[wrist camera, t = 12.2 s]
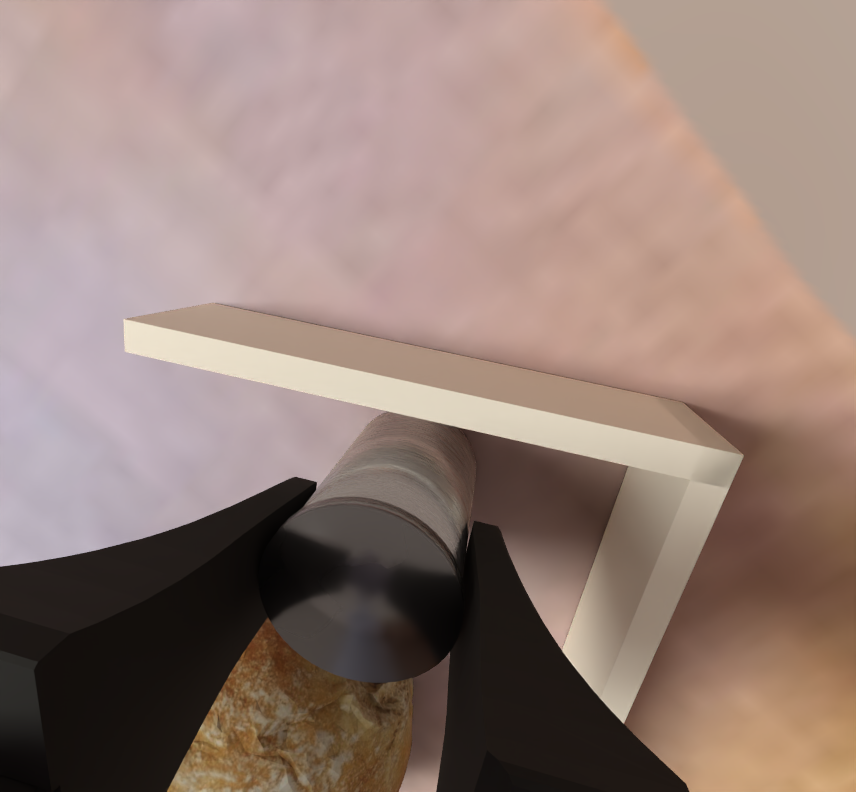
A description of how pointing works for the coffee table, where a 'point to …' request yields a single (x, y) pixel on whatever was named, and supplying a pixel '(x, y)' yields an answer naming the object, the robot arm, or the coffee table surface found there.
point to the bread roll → (298, 729)
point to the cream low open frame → (518, 420)
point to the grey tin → (377, 554)
